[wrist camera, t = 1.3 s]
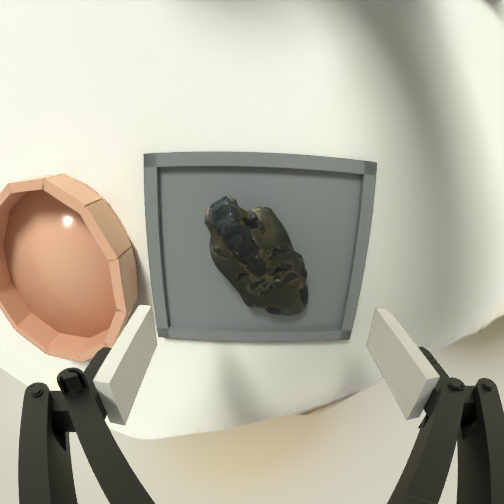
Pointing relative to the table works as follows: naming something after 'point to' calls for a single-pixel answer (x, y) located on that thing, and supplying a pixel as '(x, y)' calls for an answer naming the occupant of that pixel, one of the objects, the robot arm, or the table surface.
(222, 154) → the tray
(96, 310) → the bowl
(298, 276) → the stone
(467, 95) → the table surface
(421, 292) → the table surface
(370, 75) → the table surface
